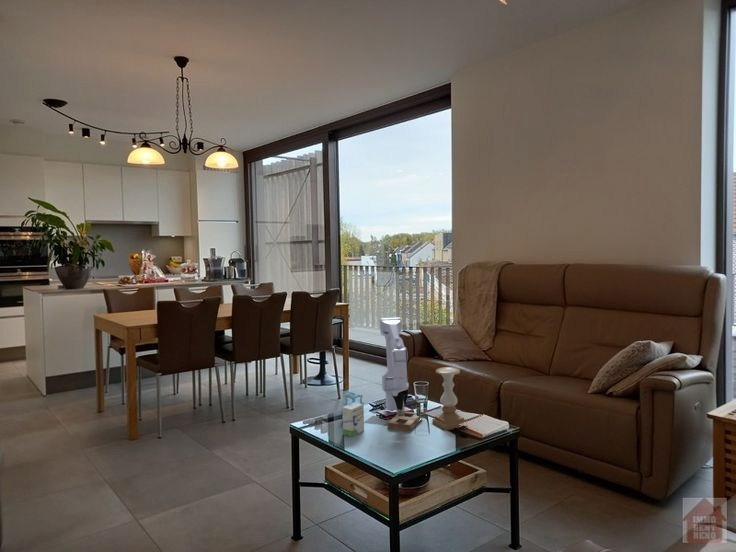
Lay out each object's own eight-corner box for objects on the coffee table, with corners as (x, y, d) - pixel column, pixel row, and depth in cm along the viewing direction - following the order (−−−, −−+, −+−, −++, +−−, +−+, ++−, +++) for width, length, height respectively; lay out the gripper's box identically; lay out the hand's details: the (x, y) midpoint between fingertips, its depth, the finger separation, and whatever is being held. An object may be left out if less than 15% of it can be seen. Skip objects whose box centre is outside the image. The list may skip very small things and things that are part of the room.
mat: (372, 416, 243) (372, 415, 243) (393, 418, 239) (393, 417, 239) (363, 423, 234) (363, 422, 234) (384, 425, 230) (384, 425, 230)
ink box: (355, 428, 227) (354, 401, 227) (365, 431, 224) (363, 403, 223) (342, 435, 221) (341, 407, 220) (352, 437, 217) (351, 409, 217)
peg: (399, 413, 228) (398, 393, 228) (405, 414, 227) (404, 393, 226) (396, 416, 225) (395, 395, 225) (402, 416, 224) (401, 395, 224)
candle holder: (431, 423, 231) (430, 368, 229) (453, 418, 235) (451, 365, 234) (445, 430, 221) (444, 374, 219) (467, 426, 225) (466, 370, 224)
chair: (366, 417, 241) (365, 391, 240) (353, 422, 235) (352, 395, 235) (355, 414, 247) (354, 388, 246) (341, 418, 241) (340, 392, 240)
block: (400, 417, 239) (400, 411, 239) (422, 419, 235) (421, 413, 235) (387, 429, 225) (387, 422, 225) (409, 432, 221) (409, 425, 220)
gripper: (397, 371, 233) (398, 402, 234) (385, 380, 220) (386, 412, 221) (412, 373, 230) (413, 403, 231) (400, 381, 217) (402, 414, 218)
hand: (401, 408), depth 226 cm, fingers closed on peg, 3 cm apart
